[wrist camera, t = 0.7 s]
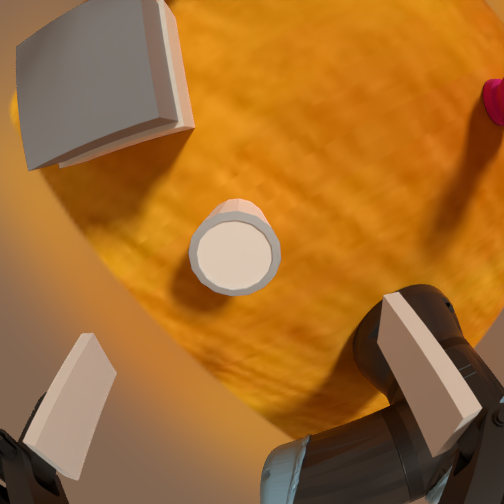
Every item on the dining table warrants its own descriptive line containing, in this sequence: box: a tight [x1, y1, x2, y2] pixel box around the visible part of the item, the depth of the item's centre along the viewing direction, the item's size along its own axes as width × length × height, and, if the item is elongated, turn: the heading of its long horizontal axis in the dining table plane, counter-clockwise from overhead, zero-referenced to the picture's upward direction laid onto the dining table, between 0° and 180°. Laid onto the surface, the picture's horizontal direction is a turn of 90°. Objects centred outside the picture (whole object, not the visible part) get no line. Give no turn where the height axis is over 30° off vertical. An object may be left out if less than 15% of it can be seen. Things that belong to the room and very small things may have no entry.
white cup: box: [188, 199, 281, 296], centre depth 24 cm, size 7×7×7 cm
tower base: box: [59, 0, 195, 169], centre depth 19 cm, size 12×12×5 cm
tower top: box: [16, 0, 178, 171], centre depth 15 cm, size 11×11×5 cm
